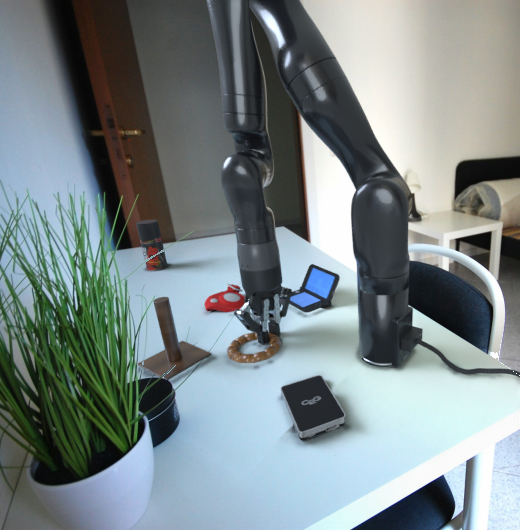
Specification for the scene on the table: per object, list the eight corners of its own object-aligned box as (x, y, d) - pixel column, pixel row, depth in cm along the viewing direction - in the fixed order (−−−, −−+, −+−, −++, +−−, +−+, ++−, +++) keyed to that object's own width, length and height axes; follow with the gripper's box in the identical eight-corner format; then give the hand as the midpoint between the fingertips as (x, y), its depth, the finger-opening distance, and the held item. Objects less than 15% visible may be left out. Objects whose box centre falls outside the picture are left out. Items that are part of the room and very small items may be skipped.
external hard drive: (300, 445, 50) (299, 433, 50) (280, 396, 60) (279, 386, 59) (347, 427, 53) (346, 416, 52) (321, 383, 62) (320, 373, 62)
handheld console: (278, 300, 93) (274, 273, 91) (313, 288, 100) (311, 262, 98) (306, 317, 85) (303, 287, 82) (342, 302, 92) (341, 274, 89)
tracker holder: (254, 305, 89) (210, 307, 83) (251, 320, 90) (207, 323, 84) (241, 279, 97) (200, 278, 91) (238, 293, 99) (198, 293, 93)
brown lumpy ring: (292, 346, 73) (291, 337, 73) (253, 373, 65) (252, 363, 65) (256, 333, 78) (255, 325, 78) (216, 357, 70) (215, 348, 70)
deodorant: (171, 264, 121) (161, 219, 116) (160, 270, 116) (149, 224, 111) (154, 263, 122) (144, 219, 117) (142, 270, 116) (131, 224, 111)
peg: (212, 358, 70) (200, 295, 66) (167, 385, 63) (150, 316, 58) (183, 345, 74) (170, 285, 70) (138, 369, 67) (120, 304, 63)
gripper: (244, 278, 62) (257, 365, 68) (299, 254, 73) (306, 331, 79) (215, 270, 65) (230, 354, 71) (272, 249, 76) (280, 323, 82)
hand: (270, 341), depth 75 cm, fingers closed on brown lumpy ring, 2 cm apart
